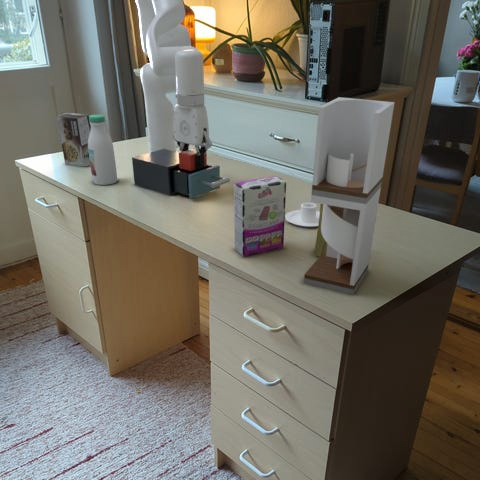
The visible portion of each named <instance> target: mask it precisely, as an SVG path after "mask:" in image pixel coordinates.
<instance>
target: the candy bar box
mask: <svg viewBox="0 0 480 480" xmlns="http://www.w3.org/2000/svg"><path fill="white" fill-rule="evenodd" d="M286 197H287V181H286V180H285V179H282V178H281V177H279V176H277V175H274V176H267V177H262V178H255V179H250V180H244V181H238V182H237V181H236V182H233V212H234V215H233V217H234V218H233V219H234V221H233V222H234V224H233V225H234V250H235V252H237V253H238V254H240V255H241V256H242V257H243V258H247V257H251V256H255V255H258V254H263V253H268V252H272V251H276V250H281V249H284V245H285V244H284V243H285V222H286V218H285V215H286V200H287V199H286Z"/></svg>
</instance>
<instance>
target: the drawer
mask: <svg viewBox="0 0 480 480" xmlns="http://www.w3.org/2000/svg"><path fill="white" fill-rule="evenodd" d="M220 172H221V166H220V165H219V164H218V165H217V164H216V165H214V166H213V165H211V164H207V166H204V167H203V168H200V169H195V170H193V171H188V170H185V169H181V168H179V166H178V167H175V168H172V169H170V179H171V190H172V191H175V192H178V193H177V194H182V195H186V196H188V197H189V199H192V200H193V199H196V198H198V197H201V196H203V195H207V194H209V193H211V192H214V191H216V190H220V189H221V186H222V185H225V184H227V183H230V181H231V179H230V177H229V176H227V177H222V176H221V173H220Z"/></svg>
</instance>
